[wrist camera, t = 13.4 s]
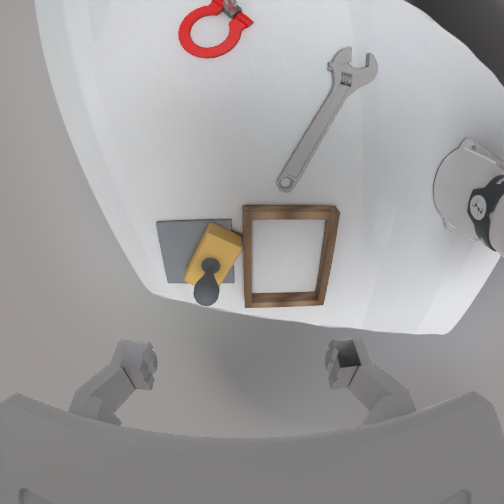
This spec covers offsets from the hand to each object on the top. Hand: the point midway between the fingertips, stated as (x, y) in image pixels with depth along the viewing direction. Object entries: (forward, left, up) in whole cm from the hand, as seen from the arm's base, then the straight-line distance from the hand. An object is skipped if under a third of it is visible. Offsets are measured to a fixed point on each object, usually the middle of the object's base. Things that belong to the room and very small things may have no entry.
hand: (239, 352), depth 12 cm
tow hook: (+4, -21, -32) cm, 38 cm away
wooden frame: (-7, +15, -31) cm, 35 cm away
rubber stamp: (+5, +14, -31) cm, 34 cm away
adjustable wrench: (-11, -9, -32) cm, 35 cm away
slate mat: (+8, +14, -31) cm, 35 cm away
